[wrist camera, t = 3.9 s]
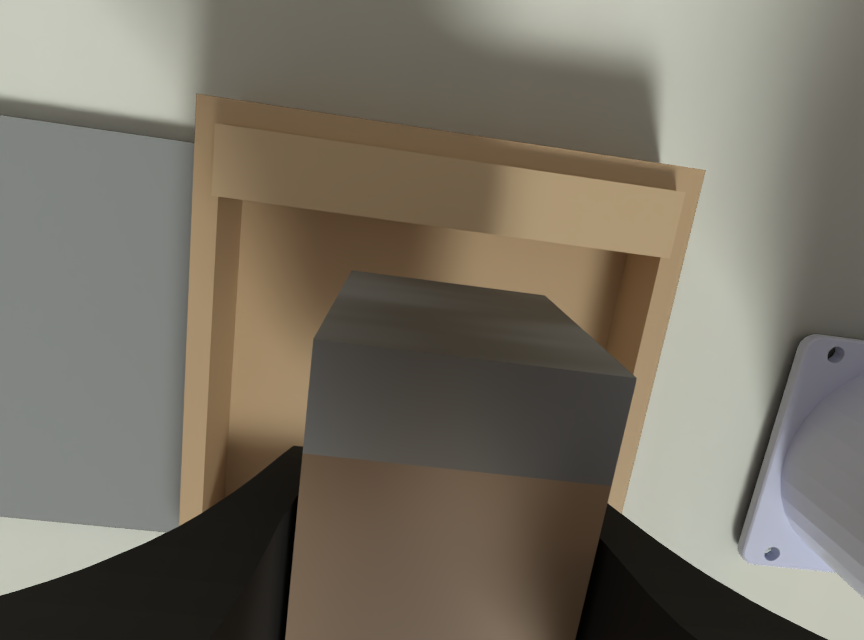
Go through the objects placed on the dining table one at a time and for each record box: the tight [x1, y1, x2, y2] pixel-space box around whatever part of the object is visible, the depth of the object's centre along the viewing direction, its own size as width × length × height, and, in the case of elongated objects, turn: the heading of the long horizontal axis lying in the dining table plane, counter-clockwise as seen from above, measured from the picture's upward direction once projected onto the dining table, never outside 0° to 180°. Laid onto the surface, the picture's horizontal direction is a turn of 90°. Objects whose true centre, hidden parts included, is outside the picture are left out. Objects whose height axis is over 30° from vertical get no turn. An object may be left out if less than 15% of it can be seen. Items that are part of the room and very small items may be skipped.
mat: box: [0, 115, 194, 532], centre depth 17 cm, size 7×12×1 cm, turn 172°
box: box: [285, 270, 637, 640], centre depth 10 cm, size 4×8×5 cm, turn 172°
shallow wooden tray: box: [179, 94, 706, 526], centre depth 17 cm, size 12×14×3 cm
